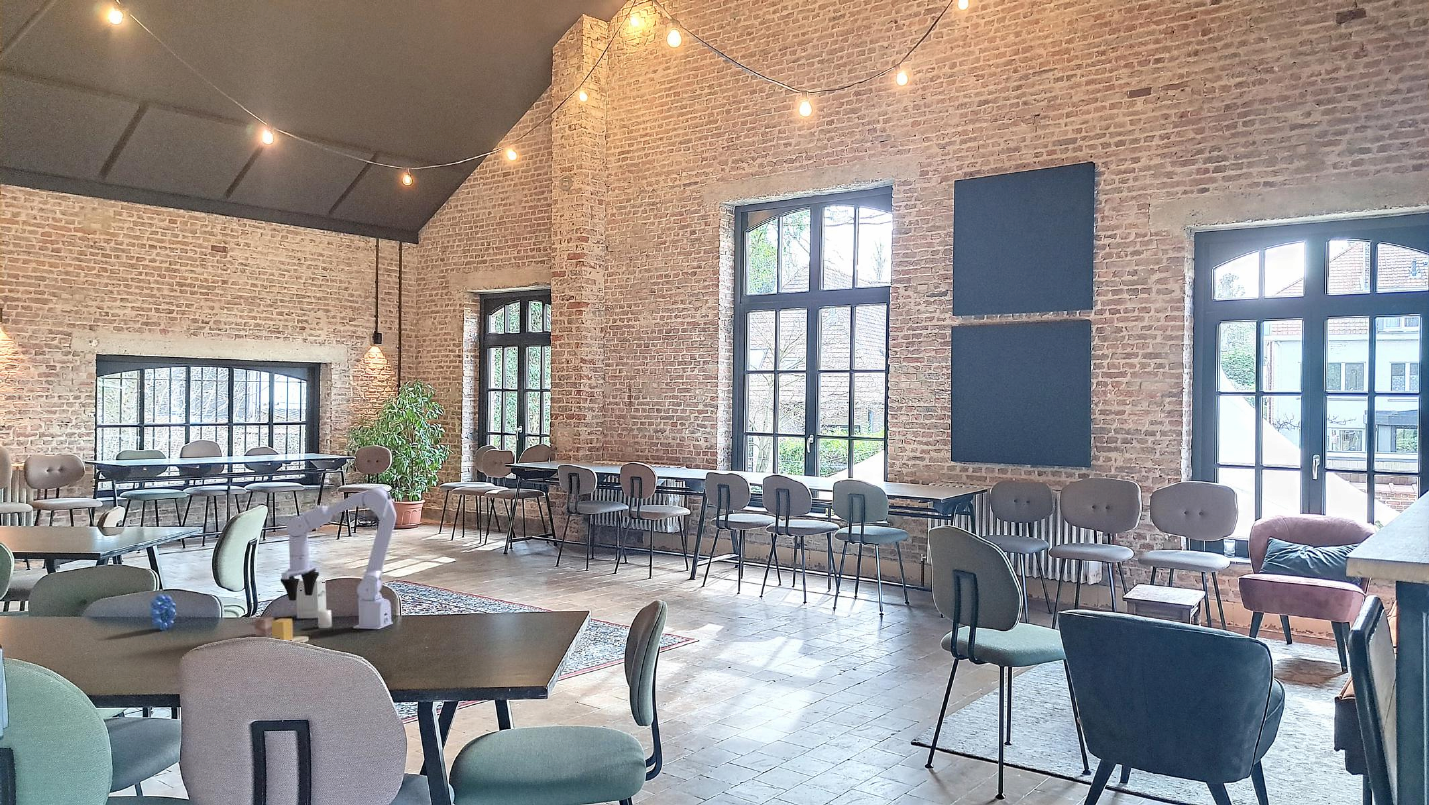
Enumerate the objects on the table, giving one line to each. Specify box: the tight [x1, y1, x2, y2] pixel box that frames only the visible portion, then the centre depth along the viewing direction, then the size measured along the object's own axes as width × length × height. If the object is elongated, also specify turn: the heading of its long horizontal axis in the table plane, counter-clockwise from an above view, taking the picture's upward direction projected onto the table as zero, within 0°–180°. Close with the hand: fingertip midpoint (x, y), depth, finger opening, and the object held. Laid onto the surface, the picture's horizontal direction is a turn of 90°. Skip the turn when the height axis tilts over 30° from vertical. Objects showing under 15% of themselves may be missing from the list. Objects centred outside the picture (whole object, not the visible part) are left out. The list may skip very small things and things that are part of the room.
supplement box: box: [296, 576, 327, 619], centre depth 342 cm, size 7×7×13 cm
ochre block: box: [271, 618, 294, 640], centre depth 304 cm, size 4×4×6 cm
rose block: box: [253, 616, 275, 637], centre depth 318 cm, size 4×4×5 cm
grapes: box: [148, 593, 178, 631], centre depth 327 cm, size 12×7×12 cm, turn 173°
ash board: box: [291, 635, 309, 644], centre depth 304 cm, size 10×10×1 cm
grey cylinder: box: [317, 609, 333, 629], centre depth 326 cm, size 4×4×5 cm
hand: (300, 597), depth 321 cm, fingers open, 7 cm apart
